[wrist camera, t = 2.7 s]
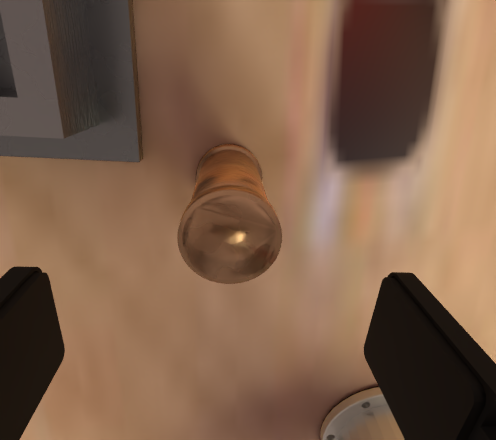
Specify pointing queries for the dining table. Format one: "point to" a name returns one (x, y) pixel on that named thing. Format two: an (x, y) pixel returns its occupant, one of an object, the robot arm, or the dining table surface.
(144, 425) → the dining table surface
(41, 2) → the flange socket
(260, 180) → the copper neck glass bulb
